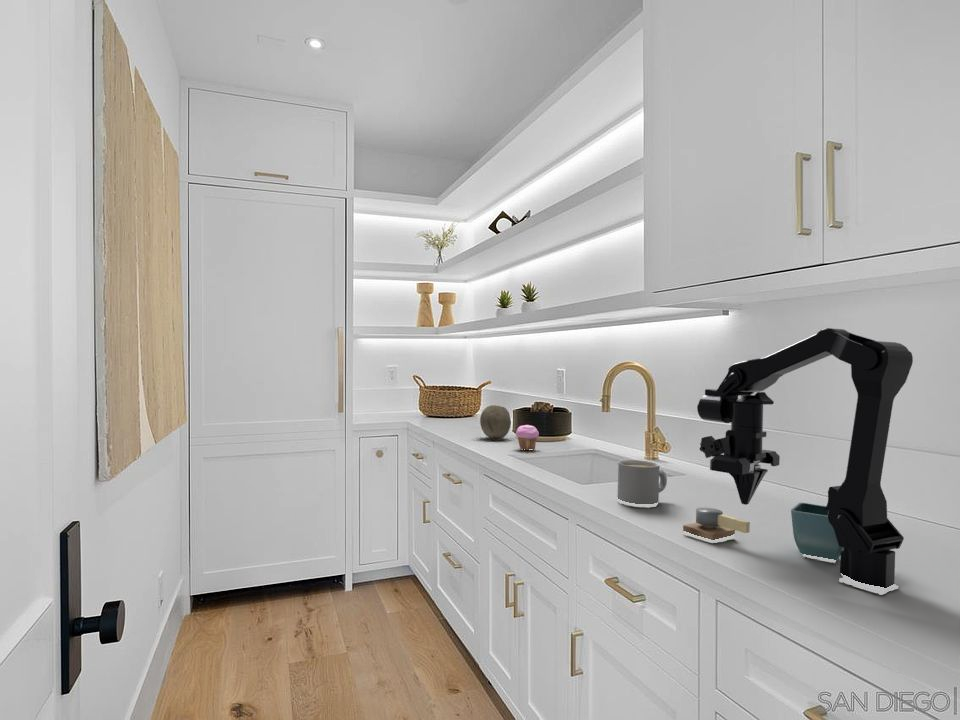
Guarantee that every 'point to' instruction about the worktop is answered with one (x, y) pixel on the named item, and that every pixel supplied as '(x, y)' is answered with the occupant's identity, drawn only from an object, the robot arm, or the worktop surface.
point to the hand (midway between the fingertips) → (744, 504)
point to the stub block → (708, 531)
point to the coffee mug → (640, 481)
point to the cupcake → (527, 436)
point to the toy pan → (720, 520)
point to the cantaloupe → (495, 422)
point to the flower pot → (814, 531)
